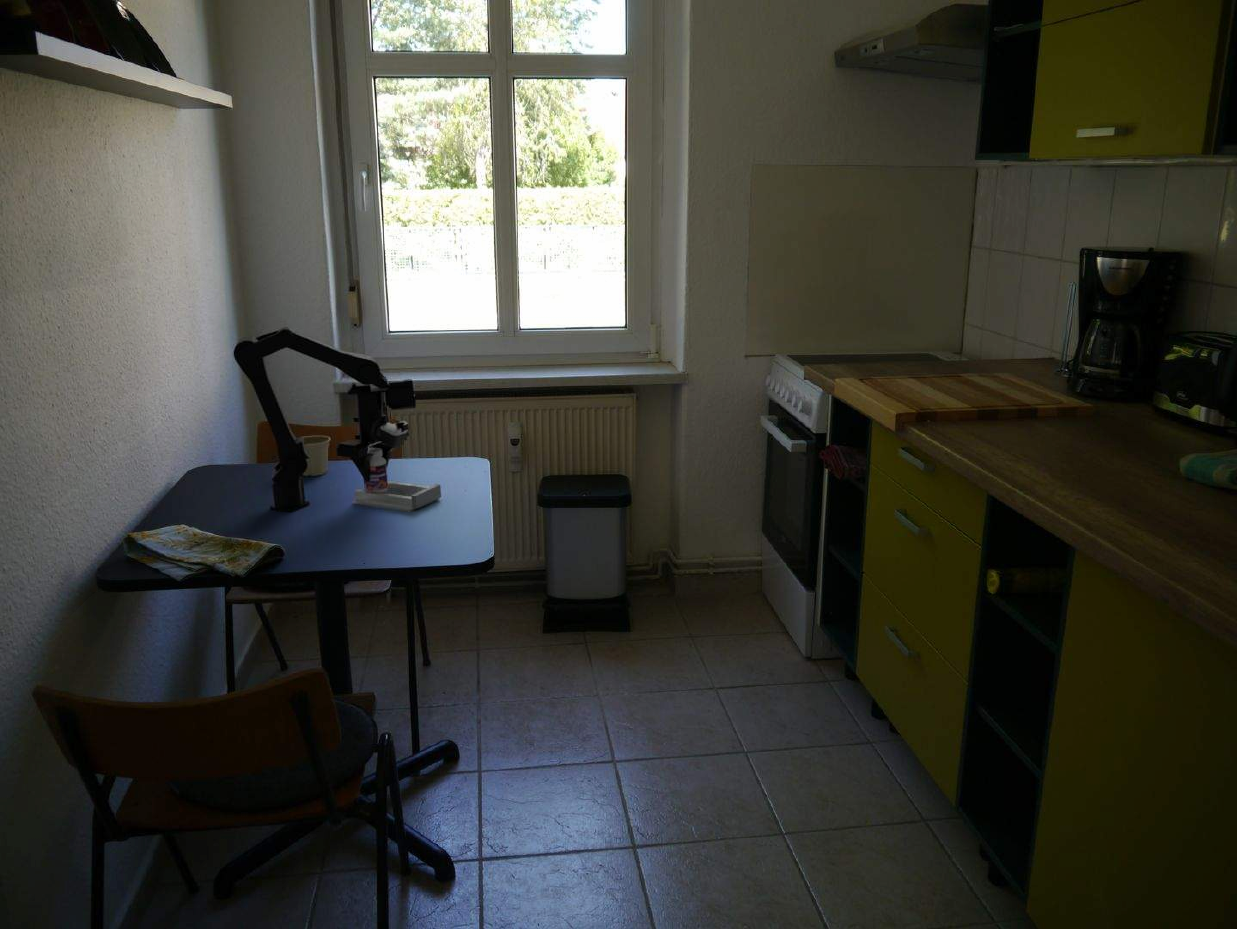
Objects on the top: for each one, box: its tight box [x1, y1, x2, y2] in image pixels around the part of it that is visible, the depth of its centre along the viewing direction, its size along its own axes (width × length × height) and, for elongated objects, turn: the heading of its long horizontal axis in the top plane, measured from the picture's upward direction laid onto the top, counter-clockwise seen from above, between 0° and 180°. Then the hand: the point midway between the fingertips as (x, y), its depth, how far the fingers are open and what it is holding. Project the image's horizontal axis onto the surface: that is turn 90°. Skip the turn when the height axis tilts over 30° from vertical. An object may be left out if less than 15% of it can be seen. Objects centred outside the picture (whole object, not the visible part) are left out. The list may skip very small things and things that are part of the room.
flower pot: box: [302, 435, 331, 477], centre depth 260 cm, size 9×9×9 cm
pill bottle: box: [362, 447, 389, 493], centre depth 238 cm, size 5×5×10 cm
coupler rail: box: [352, 480, 442, 513], centre depth 237 cm, size 11×17×4 cm, turn 64°
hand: (375, 477), depth 239 cm, fingers closed on pill bottle, 5 cm apart
